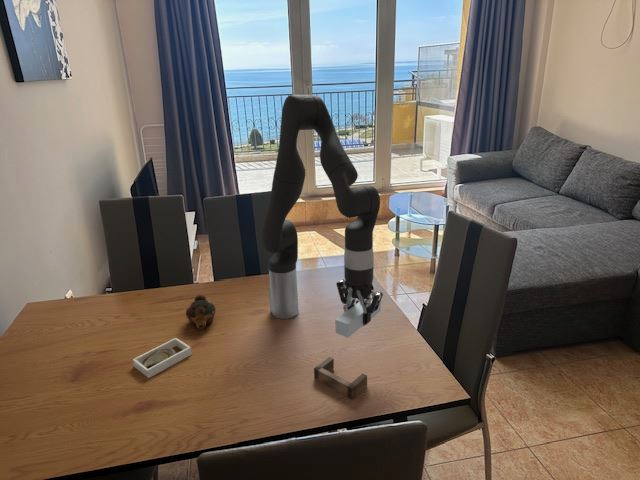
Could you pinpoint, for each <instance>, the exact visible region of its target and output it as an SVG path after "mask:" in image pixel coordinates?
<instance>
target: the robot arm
mask: <svg viewBox="0 0 640 480" xmlns="http://www.w3.org/2000/svg"><path fill="white" fill-rule="evenodd" d="M282 105H283V106H282V109H281V117H280V118H281V119H280V130H279V142H278V143H279V144H278V151H277V156H276V160H275V161H276V162H275V168H274V172H273V178H272V182H271V183H272V185H271V190H270V195H269V196H270V197H269V201H268V206H267V210H266V214H265V217H264V220H263V223H262V227H261V232H260V241H261V245H262V248H263V249H264V251H266V253H269V254H273V255H272V256H271V257H270V258H269V260H268V262H267V266H268V277H269V287H267V288H268V289H267V290H268V299H269V311H270V313H271V314H272V316H273V317H275V318H277V319H279V320H280V319H284V320H286V319H292V318H294V317H296V316H297V315H298V314H299V296H298V295H299V293H298V277H297V274H298V273H297V262H298V260H299V259H298V256H299V252H298V251H299V240H298V239H299V238H298V231H297V228H296V226H295V224H294V223H293V222H292V221H291V220H288V219H287V216H288V214H289V213H290V212H291V210H292V209H293V208H294V206H295V205H296V203H297V202H298V201H299V199H300V197H301V194H302V192H303V188H304V183H305V180H306V169H305V166H304V162H303V159H302V158H301V156H300V153H299V151H298V147H297V146H298V136H299V132H300V131H307V130H309V131H310V130H311V131H312V130H314V131H315V132H316V134H317V135H318V136H319V138H320V151H319V158H320V159H319V160H320V164H321V167H322V170H323V171H324V173H325V175H326V177H327V178H328V180H329V182H330V183H331V186H332V189H333V190H332V191H333V193H334V197H335V203H336V206H337V207H336V208H337V210H338V211H339V213H340V214H341V215H342V216H343V217H346V218H349V219H350V218H355V220H354V221H353V222H351V223H348V225H346V226H345V229H344V253H343V254H344V255H343V256H344V257H343V260H344V261H343V262H344V264H343V265H344V267H343V268H344V269H343V271H344V272H343V274H344V277H343V279H341V280H339V281H337V282H336V287H337V291H338V295H339V298H340V302H341V303H342V304H343V303H345V304H344V305H346V306H347V311H348V310H349V309H350V308H352V307H353V306H354V305H356V301H357V300H358V301H359V302H360V305H362V308H363V324H364V325H363V326H366V325H368V324H369V323H370V322H371V321H372V319H371V314H372V313H373V312H374V311H376V310H377V309H378V307H379V304H380V302H382V298H383V296H384V294H383V292H382V291H379V292H377V290H375V288H374V285H373V282H374V265H375V264H374V248H373V247H374V245H373V244H374V239H373V237H374V234H373V233H374V229H375V226H376V221H377V219H378V217H379V212H380V209H381V208H380V207H381V197H380V194H379V191H378V189H377V188H376V187H374V186H373V185H368V184H367V185H361V186H355V187H351V186H352V185H354V184H355V182H356V181H357V180H358V177H359V175H358V171H357V169H356V167H355V165H354V164H353V162H352V160H351V159H350V157H349V155H348V154H347V152H346V151H345V149H344V147H343V145H342V144H341V141H340V139H339V136H338V133H337V131H336V128H335V126H334V122H333V120H332V118H331V115H330V112H329V110H328V108H327V105H326V103H325V102H324V100H323V99H322V97H320V96H318V95H315V94H290V95H288V96H287V97H286V98H285V99H284V102H283V104H282ZM344 296H345V297H344ZM371 296H372V298H371ZM365 299H366V300H365ZM371 299H372V303H371Z"/></svg>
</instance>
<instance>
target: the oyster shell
mask: <svg viewBox="0 0 640 480" xmlns="http://www.w3.org/2000/svg"><path fill="white" fill-rule="evenodd" d="M177 353H178V352H177V350H175V349H174V348H170V347H168V348H164V349H159V350H157V351H155V352H154V353H152V354H151V355H150V356H149V357H147V358H146V359H145V360H144V361H143V362H142V365H144V366H145V367H146V368H149V366H154V365H156V364H158V363H160V362H162V361H164V360H166V359H167V358H169V357H171V356H173V355H175V354H177Z"/></svg>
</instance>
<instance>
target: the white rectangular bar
mask: <svg viewBox="0 0 640 480" xmlns="http://www.w3.org/2000/svg"><path fill="white" fill-rule="evenodd" d="M370 296H371V298H372V295H370ZM365 300H366V299H365ZM381 302H382V301H381ZM381 302H380V304H379V307H378V309H377V310H376V311H374V312H373V313H372V314H371V320H372V319H373V318H375V317H376V315H378V314H379V313H380V312H381V304H382V303H381ZM371 303H372V299H371ZM363 326H365V325H364V324H363V308H362V305H360V301H359V302H358V303H357V304H356V303H355V305H354V306H353V307H352V308H350V309H349V310H348V311H346V312H345V311H344V313H343V314H341V315H340V316H338V317H337V318H335V334H338V335H340V336H343V337H345V338H347V339H348V338H350V337H351V336H352V335H354V334H355V333H356V332H357V331H359V330H361V328H362V327H363Z"/></svg>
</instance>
